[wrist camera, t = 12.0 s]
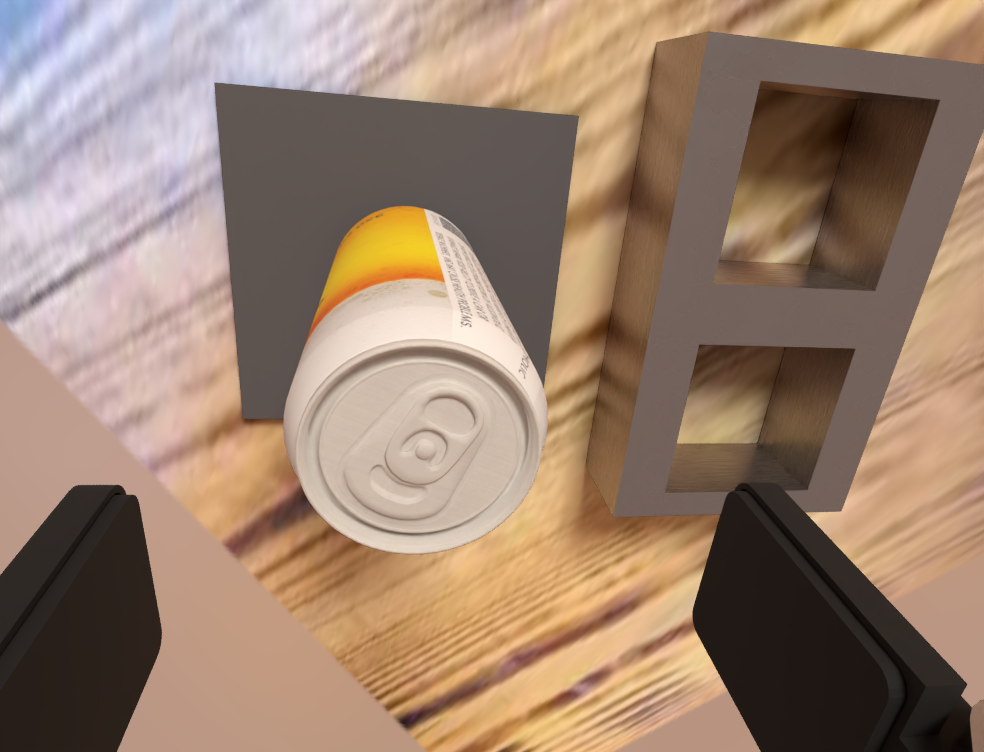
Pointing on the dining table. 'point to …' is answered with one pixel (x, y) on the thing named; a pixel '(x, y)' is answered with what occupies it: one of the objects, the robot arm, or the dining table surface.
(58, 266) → the dining table surface
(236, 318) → the mat
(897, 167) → the cinder block
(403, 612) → the dining table surface
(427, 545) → the beer can
